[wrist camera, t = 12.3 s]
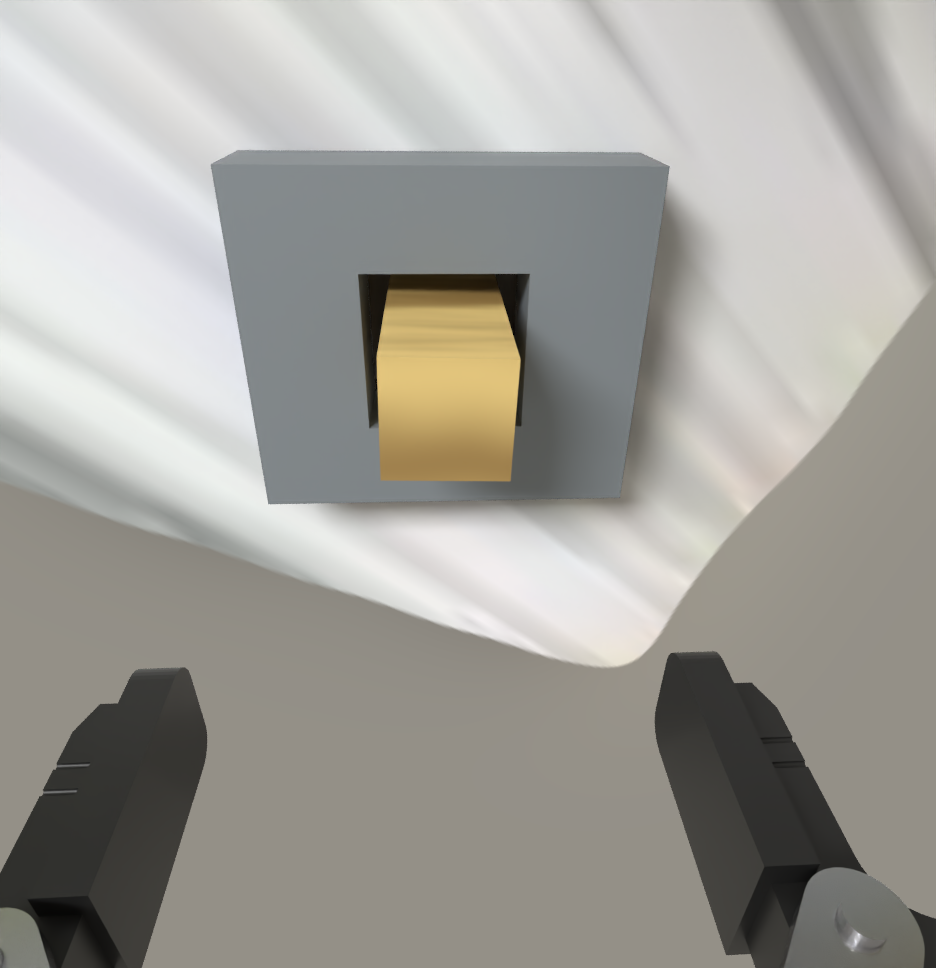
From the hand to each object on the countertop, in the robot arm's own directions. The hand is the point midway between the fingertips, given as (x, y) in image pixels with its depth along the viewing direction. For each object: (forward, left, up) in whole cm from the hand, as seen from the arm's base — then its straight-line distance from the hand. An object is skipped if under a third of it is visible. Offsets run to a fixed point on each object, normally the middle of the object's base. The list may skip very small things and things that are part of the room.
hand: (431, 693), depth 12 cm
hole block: (+1, +1, -22) cm, 22 cm away
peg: (+1, +1, -22) cm, 22 cm away
